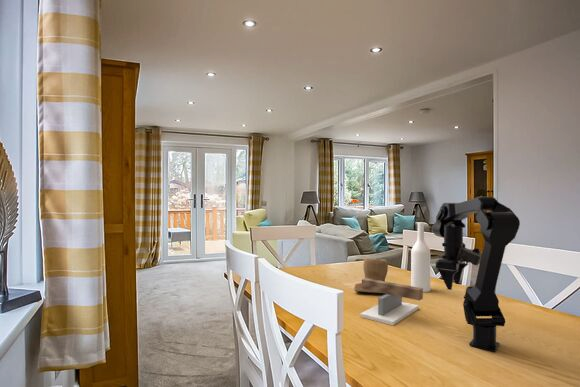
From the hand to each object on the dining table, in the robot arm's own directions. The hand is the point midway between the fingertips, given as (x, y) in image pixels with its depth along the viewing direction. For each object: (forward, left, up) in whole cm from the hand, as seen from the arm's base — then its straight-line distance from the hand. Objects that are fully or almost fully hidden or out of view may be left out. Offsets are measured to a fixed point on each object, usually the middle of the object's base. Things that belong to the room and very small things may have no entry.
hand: (453, 286), depth 117 cm
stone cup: (+15, +38, -12) cm, 42 cm away
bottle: (+32, +23, -12) cm, 41 cm away
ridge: (-5, +20, -12) cm, 24 cm away
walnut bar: (-5, +20, -5) cm, 21 cm away
